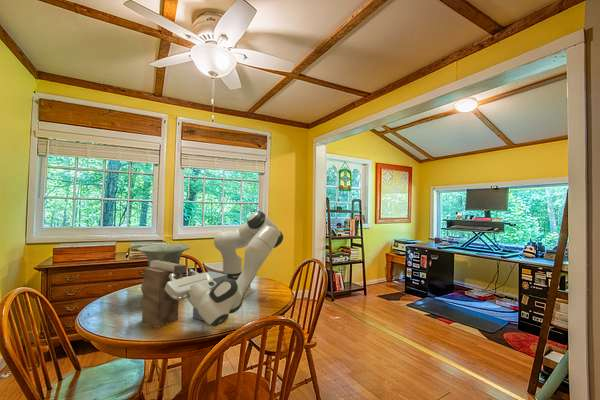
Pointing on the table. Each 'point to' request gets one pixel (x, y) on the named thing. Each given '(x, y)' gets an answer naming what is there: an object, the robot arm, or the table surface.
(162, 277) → the walnut pillar
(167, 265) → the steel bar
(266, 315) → the table surface
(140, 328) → the table surface
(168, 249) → the vessel
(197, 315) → the slate block
